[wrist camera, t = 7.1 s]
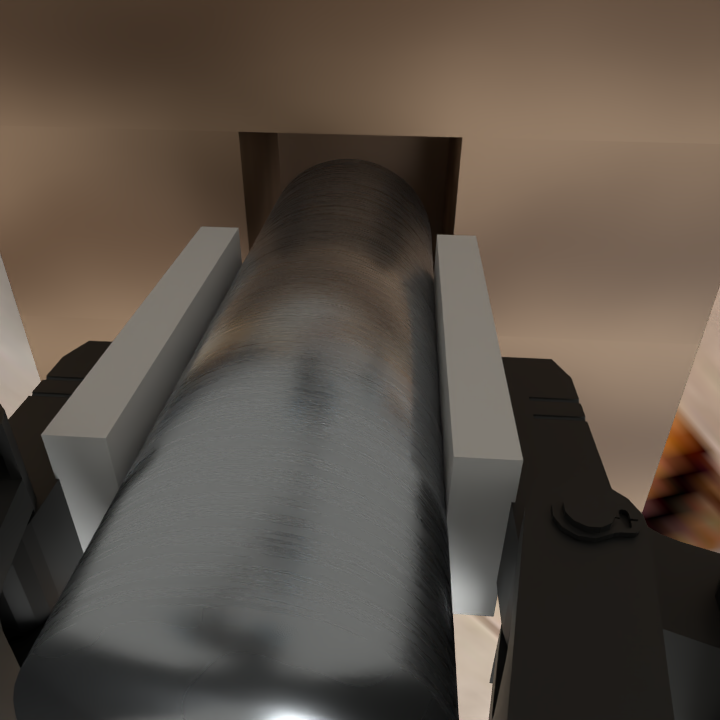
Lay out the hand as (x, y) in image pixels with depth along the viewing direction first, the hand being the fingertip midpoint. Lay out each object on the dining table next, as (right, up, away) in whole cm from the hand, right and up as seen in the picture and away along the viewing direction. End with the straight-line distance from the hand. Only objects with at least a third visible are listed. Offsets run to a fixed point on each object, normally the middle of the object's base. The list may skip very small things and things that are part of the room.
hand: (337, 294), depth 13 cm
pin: (0, +2, +3) cm, 3 cm away
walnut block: (+1, +5, +7) cm, 9 cm away
